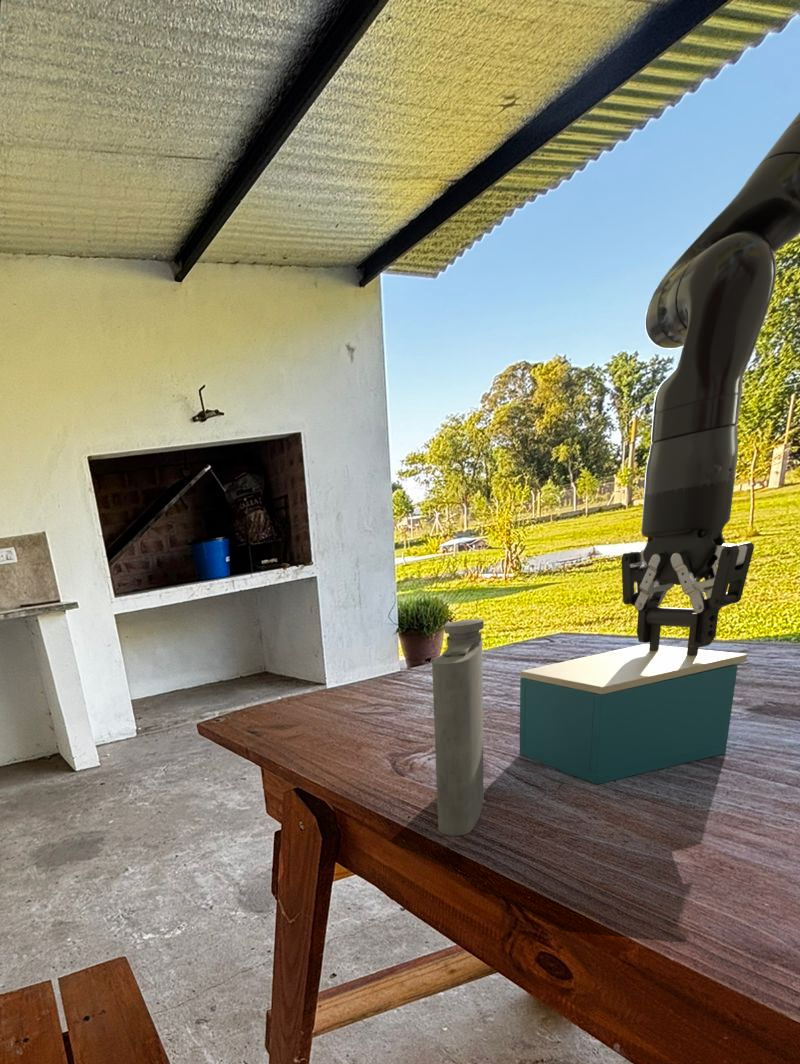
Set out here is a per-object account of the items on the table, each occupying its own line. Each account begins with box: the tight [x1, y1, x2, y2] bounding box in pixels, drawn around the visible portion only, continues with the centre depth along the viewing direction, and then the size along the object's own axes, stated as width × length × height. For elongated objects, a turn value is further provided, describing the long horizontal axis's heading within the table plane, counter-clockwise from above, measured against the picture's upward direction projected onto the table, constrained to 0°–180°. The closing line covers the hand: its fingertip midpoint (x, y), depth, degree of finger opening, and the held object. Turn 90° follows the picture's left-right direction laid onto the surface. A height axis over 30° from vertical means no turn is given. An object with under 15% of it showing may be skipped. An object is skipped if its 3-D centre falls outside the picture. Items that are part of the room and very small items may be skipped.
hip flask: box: [431, 618, 485, 837], centre depth 64 cm, size 16×4×20 cm, turn 154°
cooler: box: [519, 664, 739, 785], centre depth 72 cm, size 16×13×10 cm
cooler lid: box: [520, 606, 748, 694], centre depth 69 cm, size 17×13×6 cm
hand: (672, 643), depth 70 cm, fingers closed on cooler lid, 6 cm apart
